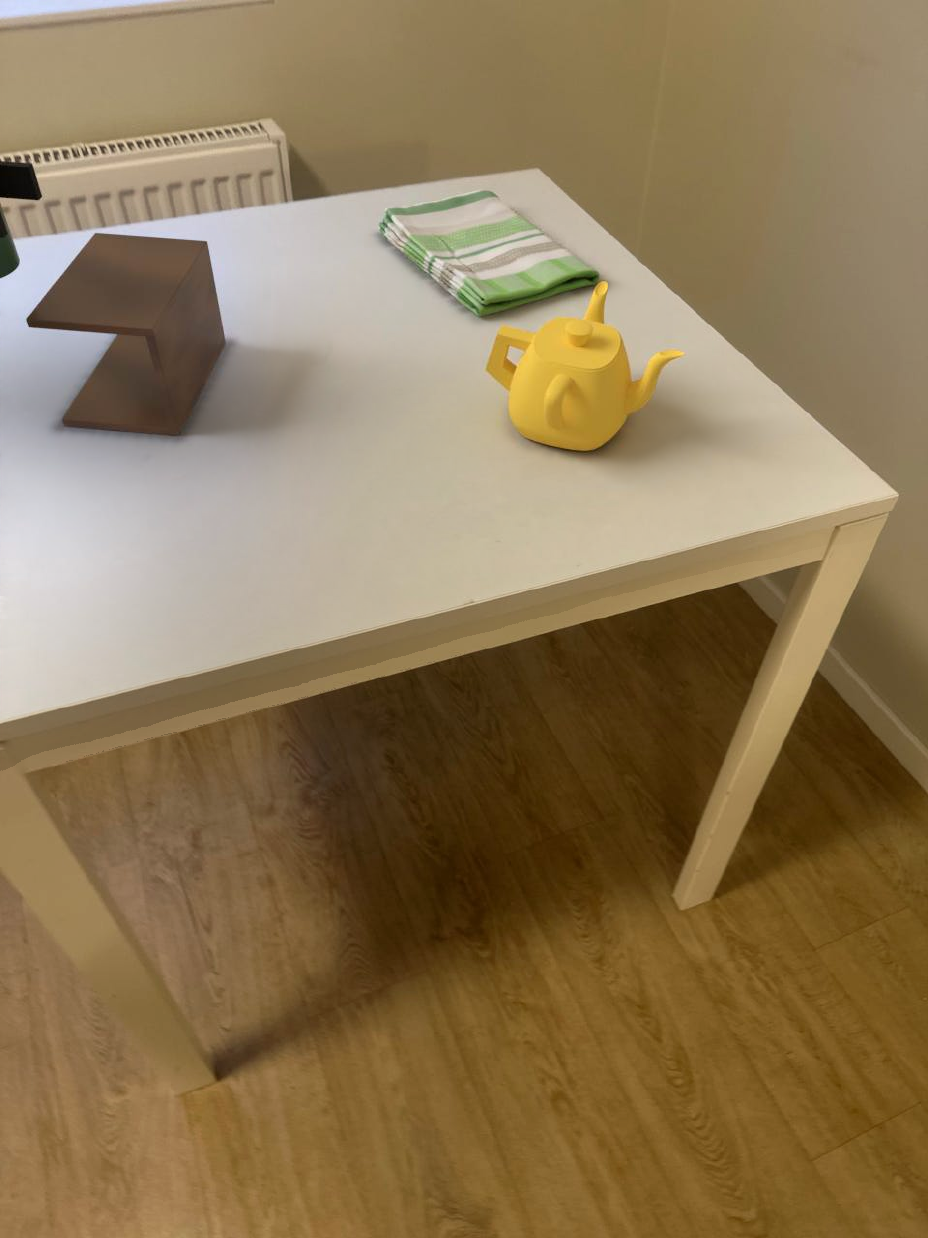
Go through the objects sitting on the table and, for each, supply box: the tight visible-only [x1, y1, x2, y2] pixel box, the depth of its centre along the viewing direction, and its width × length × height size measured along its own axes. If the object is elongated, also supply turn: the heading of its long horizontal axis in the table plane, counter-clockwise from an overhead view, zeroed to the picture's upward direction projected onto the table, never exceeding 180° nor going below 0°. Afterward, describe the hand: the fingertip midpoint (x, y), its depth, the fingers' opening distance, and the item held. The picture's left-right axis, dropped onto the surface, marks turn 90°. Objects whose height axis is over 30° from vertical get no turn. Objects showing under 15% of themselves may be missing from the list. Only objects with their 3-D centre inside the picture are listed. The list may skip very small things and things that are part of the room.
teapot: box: [484, 280, 685, 452], centre depth 86 cm, size 14×13×10 cm
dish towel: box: [377, 189, 600, 317], centre depth 109 cm, size 17×23×4 cm
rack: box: [25, 232, 227, 437], centre depth 88 cm, size 16×11×11 cm
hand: (17, 199), depth 75 cm, fingers closed on tin, 6 cm apart
